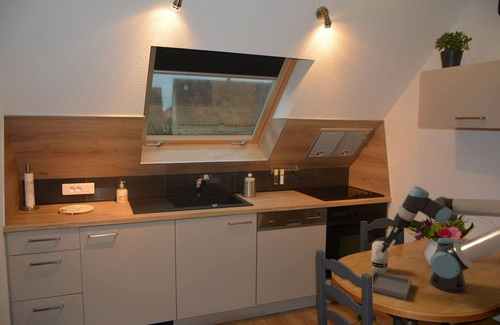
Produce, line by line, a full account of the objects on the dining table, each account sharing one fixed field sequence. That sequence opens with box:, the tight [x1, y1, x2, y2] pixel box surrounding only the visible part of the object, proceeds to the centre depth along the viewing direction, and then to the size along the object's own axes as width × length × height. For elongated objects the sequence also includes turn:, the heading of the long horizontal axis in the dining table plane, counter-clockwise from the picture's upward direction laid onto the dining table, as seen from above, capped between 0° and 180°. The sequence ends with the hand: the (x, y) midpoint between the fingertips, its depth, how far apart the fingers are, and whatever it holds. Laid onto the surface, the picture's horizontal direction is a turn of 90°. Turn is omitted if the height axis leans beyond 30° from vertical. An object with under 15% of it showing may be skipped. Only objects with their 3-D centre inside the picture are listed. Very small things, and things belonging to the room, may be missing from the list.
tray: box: [370, 271, 413, 302], centre depth 175 cm, size 18×18×3 cm
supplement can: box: [370, 240, 389, 273], centre depth 194 cm, size 8×8×15 cm
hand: (383, 253), depth 181 cm, fingers open, 13 cm apart
